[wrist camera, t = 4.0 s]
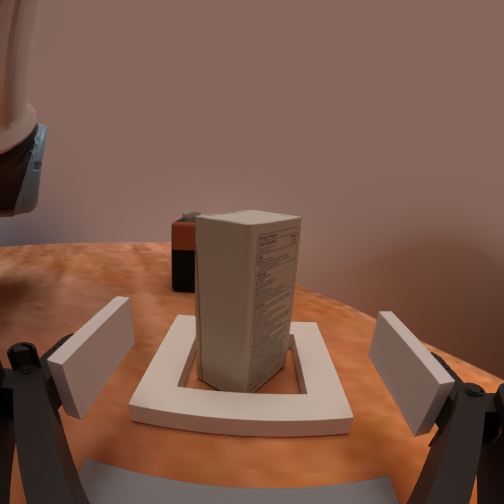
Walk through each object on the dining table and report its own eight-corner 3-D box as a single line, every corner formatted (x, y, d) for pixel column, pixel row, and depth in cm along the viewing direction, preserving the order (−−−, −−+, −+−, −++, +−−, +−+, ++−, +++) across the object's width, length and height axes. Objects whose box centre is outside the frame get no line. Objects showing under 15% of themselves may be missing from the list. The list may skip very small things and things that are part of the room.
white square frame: (132, 420, 15) (128, 404, 15) (178, 328, 28) (177, 314, 28) (347, 433, 15) (353, 417, 15) (313, 335, 28) (316, 322, 28)
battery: (171, 291, 38) (170, 215, 36) (182, 276, 44) (182, 210, 42) (204, 294, 38) (205, 216, 36) (210, 277, 44) (212, 211, 42)
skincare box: (244, 348, 25) (252, 209, 23) (288, 366, 23) (304, 215, 20) (194, 379, 20) (191, 213, 18) (241, 406, 18) (251, 221, 15)
